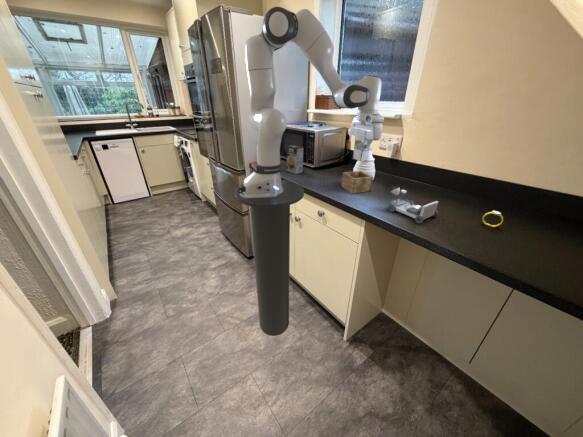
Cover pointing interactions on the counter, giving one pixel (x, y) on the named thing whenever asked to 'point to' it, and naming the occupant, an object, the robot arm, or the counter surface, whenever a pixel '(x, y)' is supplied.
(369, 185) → the box
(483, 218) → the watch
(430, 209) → the toy car
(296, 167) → the coffee box
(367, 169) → the honey pot
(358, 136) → the syrup box
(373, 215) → the counter surface
